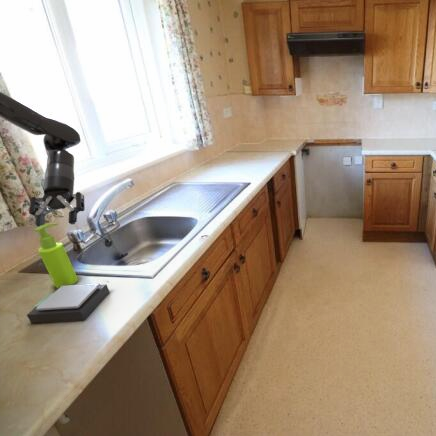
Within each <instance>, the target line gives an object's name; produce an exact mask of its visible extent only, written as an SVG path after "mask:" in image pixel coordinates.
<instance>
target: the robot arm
mask: <svg viewBox="0 0 436 436" xmlns="http://www.w3.org/2000/svg"><path fill="white" fill-rule="evenodd" d="M0 118H2V119H3V120H5V121H6V122H8V123H10V124H11V125H14V126H15V127H18V128H20V129H21V130H24V131H25V132H27V133H29V134H31V135H34V136H43V135H44V136H43V139H42V140H43V141H42V142H43V145H44V148H45V152H46V156H47V157H46V158H47V159H46V167H45V171H44V179H43V180H44V181H43V196H42V197H36V196H32V197H31V198H30V199H31V200H30V205H29V211H28V214H29V215H31V216H33V217H35V226H36V227H39V226H42V225H44V224H46V216H47V215H48V214H49V213H51V212H52V211H55V210H59V209H61V210H63V209H66V208H67V209H68V210H69V212H68V223H69V225H75V224H76V223H77V221H78V214H79V212H84V211H85V195H84V194H83V193H81V192H80V191H77V192H76V193H74V191H75V156H74V154H72V152H70V151H68V149H70V148H72V147H75V146H77V145H79V144H80V143H81V140H82V137H81V134H80V133H79V131H78V130H77V129H76V128H75V127H73V126H71V125H70V124H67V123H65V122H63V121H60V120H57V119H54V118H52V117H48V116H46V115H44V114H42V113H41V112H38V111H37V110H35V109H33V108H32V107H30V106H28V105H26V104H25V103H23V102H21V101H19V100H17V99H15V98H13V97H12V96H9V95H8V94H6V93H3V92H2V91H0ZM74 200H75V206H74V205H73V204H72V202H73V201H74Z"/></svg>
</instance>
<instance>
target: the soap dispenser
mask: <svg viewBox="0 0 436 436" xmlns="http://www.w3.org/2000/svg"><path fill="white" fill-rule="evenodd" d="M58 225H59V223H58V222H54V221H53V222H49V223H48V222H47V223H45V224H44V225H42V226H39V227H38V226H36V227H35V228H33V231H35V232H38V233H39V235H40V237H38V242H39V243H40V246H41V247H39V248H38V250H37V251H38V254H39V256H40V258H41V260H42V262H43V265H44V266H45V268H46V270H47V272H48V275H49V276H50V278H51V280H52V283H53V284H54V287H55V288H56V289H57V288H59V287H61V286H67V285H75V284H76V283H77V282H78V281H79V278H78V276H77V274H76V271H75V269H74V267H73V264H72V262H71V260H70V257H69V256H68V253H67V251H66V249H65V246H64V244H63V243H62V242H57V241H56V239H55V237H54V235H53V234H50V233H49V232H48V230H47V229H49V228H51V227H54V226H58Z"/></svg>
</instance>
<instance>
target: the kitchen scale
mask: <svg viewBox="0 0 436 436" xmlns="http://www.w3.org/2000/svg"><path fill="white" fill-rule="evenodd" d="M109 294H110V289H109V287H108V285H107V284H105V283H104V284H103V283H102V284H100V283H86V284H73V285H67V286H61V287H59V288H56V289H55V290H54V291H52V292H49V293H48V294H46V296H44V297H43V298H42V299H41V300H39V301H38V302H37V303H36V304H35V305H34V306H33V309H32V310H30V311H29V312H28V313H27V314H26V317H27V318H28V320H29V322H30V324H46V323H47V324H48V323H61V322H62V323H63V322H65V323H66V322H75V321H76V322H78V321H79V322H81V321H85V320H86V319H88V318H89V316H90V315H91V313H92V312H94V311H95V309H96V308H97V307H98V306H99V305H100V304H101V303H102V302H103V301H104V300H105V298H106V297H107V296H108V295H109Z"/></svg>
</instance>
